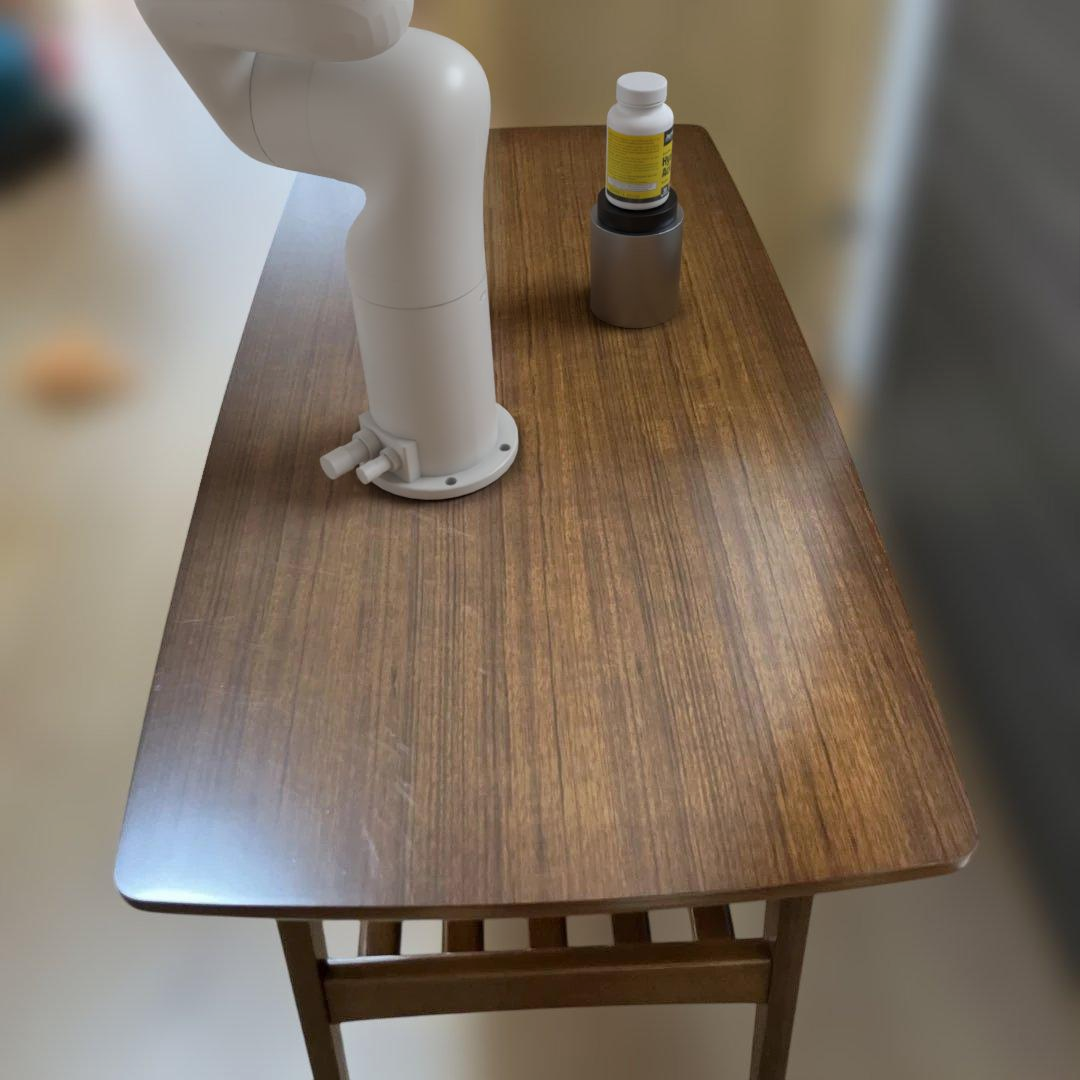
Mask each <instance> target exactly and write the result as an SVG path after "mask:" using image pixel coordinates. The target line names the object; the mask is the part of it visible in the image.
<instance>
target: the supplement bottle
mask: <svg viewBox="0 0 1080 1080" xmlns="http://www.w3.org/2000/svg"><path fill="white" fill-rule="evenodd" d="M615 86H616V89H615V91H616V92H615V95H616V96H615V100H616V103H614V104H613V105H612V106H611V107H610V109H609V110H608V112H607V116H606V150H605V151H606V152H605V153H606V155H605V159H606V160H605V161H606V162H605V187H606V197H607V199H608V200H609V201H610V202H611V203H612V204H614V205H615V206H618V207H620V208H624V209H630V210H644V209H651V208H655V207H657V206H659V205H661V204H663V203H664V202H665V201H666V200H667V198H668V196H669V188H670V187H671V186H670V185H671V171H672V170H671V169H672V155H673V153H672V152H673V139H674V138H673V137H674V136H673V135H674V117H675V116H674V113H673V110H672V108H671V107H670V106H669V105H668V104H666V103H665V102H666V100H667V96H668V80H667V78H666V77H665V76H663V75H662V74H659V73H656V72H651V71H633V72H632V71H631V72H628V73H625V74H622V75H621V76H619V77H618V78H617V80H616V85H615Z"/></svg>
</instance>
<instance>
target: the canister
mask: <svg viewBox="0 0 1080 1080" xmlns="http://www.w3.org/2000/svg"><path fill="white" fill-rule="evenodd" d="M678 199H679V197H678V194H677V192H676V190H675V189H674V188H672V187H671V186H670V188H669V196H668V198H667V200H666V201H665V202H664V203H663V204H661V205H659V206H657V207H655V208H651V209H644V210H630V209H624V208H620V207H618V206H615V205H614V204H612V203H611V202H610V201H609V200H608V199H607V197H606V186H604V187H603V188H602V189H601V190H600V191H599V192H598V194H597V197H596V201H597V202H596V203H595V204H594V205H593V206H592V208H591V210H590V213H589V215H590V216H589V217H590V218H589V220H590V221H589V225H590V227H589V229H590V230H589V237H590V238H589V239H590V242H589V248H590V249H589V251H590V252H589V254H590V255H589V271H590V273H589V301H590V302H589V305H590V310H591V312H592V313H593V315H594V316H595V318H597V319H599V320H600V321H601V322H604V323H606V324H608V325H611V326H613V327H618V328H623V329H646V328H652V327H656V326H659V325H661V324H664V323H665V322H668V321H669V320H670V319H672V318H673V317H674V316H675V314H676V313H677V311H678V309H679V301H680V300H679V299H680V283H681V269H682V253H683V237H684V222H685V220H684V219H685V212H684V209H683V207H682V206H681V205H680V204H679V203H678V202H679V200H678Z"/></svg>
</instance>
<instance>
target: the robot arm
mask: <svg viewBox="0 0 1080 1080" xmlns="http://www.w3.org/2000/svg"><path fill="white" fill-rule="evenodd" d="M133 2H134V4H135V6H136V8H137V11H138V12H139V14H140V16H141V18H142V20H143V22H144V24H145V25H146V26H147V28H148V29H149V31H150V32H151V34H152V36H153V37H154V38H155V40H156V42H157V43H158V44H159V45H160V47H161V48H162V50H163V51H164V53H165V54H166V55H167V57H168V58H169V60H170V61H171V62H172V64H173V65H174V66H175V68H176V70H177V71H178V72H179V74H180V75H181V76H182V78H183V79H184V81H185V82H186V84H187V85H188V87H189V88H190V89H191V91H192V92H193V93H194V95H195V96H196V97H197V99H198V100H199V102H200V103H201V104H202V106H203V107H204V109H205V110H206V111H207V112H208V114H209V115H210V117H211V118H212V119H213V120H214V123H216V125H217V126H218V127H219V129H220V130H221V131H222V133H223V134H224V135H225V136H226V138H228V140H229V141H230V142H231V143H232V144H233V145H234V146H235V147H236V148H237V149H238V150H240V151H241V152H242V153H243V154H245V155H247V156H248V157H249V158H251V159H253V160H254V161H257V162H259V163H261V164H265V165H268V166H272V167H274V168H275V167H276V168H279V169H283V170H288V171H292V172H297V173H301V174H307V175H313V176H316V177H321V178H327V179H332V180H336V181H338V182H342V183H346V184H350V185H354V186H356V187H358V188H360V189H361V190H362V191H363V192H364V194H365V203H364V206H363V208H362V209H361V211H360V212H359V213H358V215H357V216H356V218H355V219H354V220H353V222H352V224H351V225H350V227H349V229H348V232H347V234H346V237H345V243H344V265H345V271H346V277H347V284H348V285H349V291H350V299H351V304H352V309H353V315H354V321H355V327H356V334H357V341H358V346H359V351H360V352H359V353H360V357H361V364H362V369H363V375H364V381H365V388H366V394H367V398H368V399H367V400H368V406H369V409H367V410H366V411H363V412H362V413H361V414H359V415H358V424H359V427H360V430H358V431H356V432H355V433H353V435H352V436H351V441H349V442H348V443H346V444H345V445H342V446H341V445H340V446H338V447H336V448H335V449H333V450H331V451H328V453H325V454H323V455H322V456H320V458H319V463H320V466H321V469H322V471H323V473H324V474H325V475H326V476H327V477H328V478H329V479H330V480H333V481H335V480H337V479H338V478H340V477H342V476H343V475H346V474H347V473H349V472H350V471H352V470H354V469H355V474H356V476H357V478H358V480H359V481H360V482H361V483H362V484H363V485H367V484H369V483H371V482H372V484H374V485H376V486H377V487H378V488H380V489H382V490H384V491H386V492H388V493H391V494H393V495H396V496H399V497H404V498H409V499H416V500H423V501H424V500H426V501H427V500H428V501H429V500H445V499H451V498H458V497H461V496H464V495H468V494H473V493H475V492H477V491H479V490H481V489H483V488H485V487H487V486H489V485H491V484H492V483H494V482H495V481H497V480H498V479H499V478H501V476H503V475H504V474H505V473H506V472H507V471H508V470H509V469H510V467H511V466H512V464H513V463H514V461H515V459H516V457H517V454H518V452H519V443H520V442H519V432H518V426H517V424H516V421H515V419H514V417H513V416H512V415H511V413H510V412H509V411H508V410H507V408H504V406H502V405H501V404H499V403H498V402H497V399H496V385H495V383H496V382H495V372H494V369H495V368H494V355H493V344H492V342H493V341H492V329H491V317H490V301H489V300H490V299H489V286H488V274H487V273H488V272H487V265H486V251H485V250H486V249H485V247H486V246H485V231H484V186H485V173H486V172H485V171H486V160H487V152H488V143H489V135H490V126H491V113H492V106H491V105H492V103H491V101H492V100H491V91H490V85H489V81H488V78H487V75H486V72H485V70H484V68H483V66H482V65H481V63H480V62H479V61H478V60H477V58H476V57H475V56H474V54H472V53H471V52H470V51H469V50H468V49H467V48H465V47H464V46H463V45H461V44H460V43H459V42H457V41H456V40H453V39H452V38H450V37H447V36H444V35H442V34H439V33H436V32H434V31H431V30H427V29H422V28H417V27H414V26H413V27H412V26H409V25H410V23H411V21H412V18H413V17H412V16H413V12H414V7H415V6H414V5H415V0H133ZM358 465H359V467H357V468H355V467H356V466H358Z"/></svg>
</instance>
